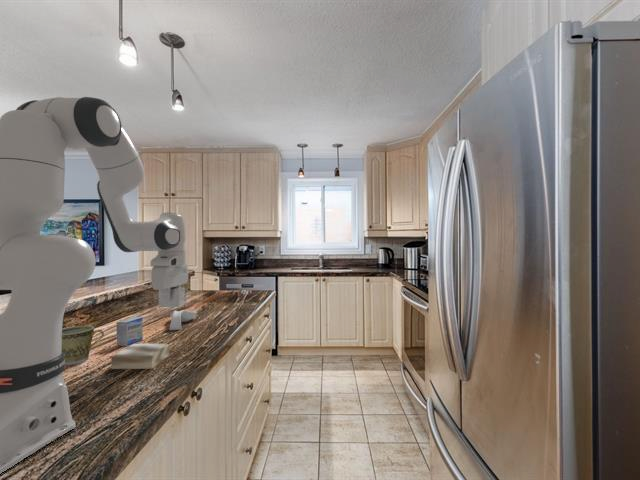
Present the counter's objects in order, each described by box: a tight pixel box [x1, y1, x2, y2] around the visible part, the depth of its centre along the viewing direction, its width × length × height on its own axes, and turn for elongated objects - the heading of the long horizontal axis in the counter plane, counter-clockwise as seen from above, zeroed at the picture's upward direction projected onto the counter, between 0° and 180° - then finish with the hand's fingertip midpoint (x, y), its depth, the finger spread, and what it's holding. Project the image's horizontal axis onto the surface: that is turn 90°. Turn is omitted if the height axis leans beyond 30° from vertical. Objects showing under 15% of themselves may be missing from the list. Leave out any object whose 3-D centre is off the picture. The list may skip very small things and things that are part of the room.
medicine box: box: [115, 316, 144, 347], centre depth 118 cm, size 8×4×9 cm, turn 168°
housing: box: [158, 287, 186, 308], centre depth 111 cm, size 4×7×6 cm, turn 90°
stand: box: [110, 343, 171, 370], centre depth 99 cm, size 11×12×4 cm
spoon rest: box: [169, 309, 198, 331], centre depth 146 cm, size 24×12×7 cm, turn 14°
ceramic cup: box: [62, 325, 105, 367], centre depth 100 cm, size 13×10×10 cm
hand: (171, 299), depth 111 cm, fingers closed on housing, 4 cm apart
